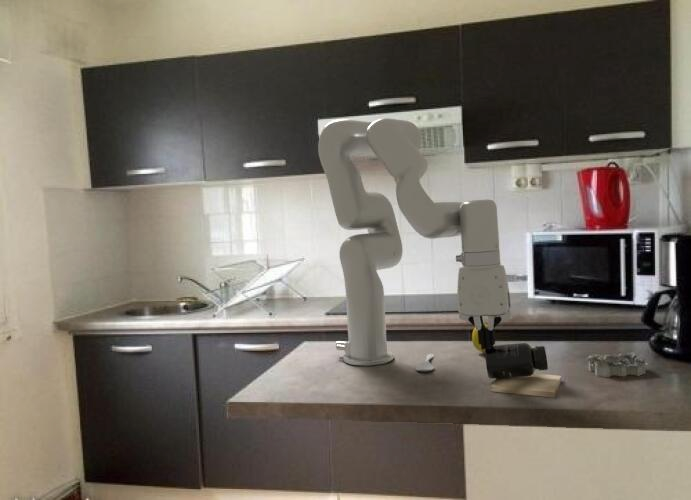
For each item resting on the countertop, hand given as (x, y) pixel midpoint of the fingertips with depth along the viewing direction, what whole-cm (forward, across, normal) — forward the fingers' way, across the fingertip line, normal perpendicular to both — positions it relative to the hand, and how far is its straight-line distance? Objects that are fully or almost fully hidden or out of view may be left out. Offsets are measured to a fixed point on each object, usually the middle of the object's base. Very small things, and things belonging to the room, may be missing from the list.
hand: (487, 347), depth 115 cm
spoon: (+8, -18, +12) cm, 23 cm away
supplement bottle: (+4, -1, +1) cm, 4 cm away
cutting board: (+8, +7, +1) cm, 11 cm away
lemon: (+7, -7, +24) cm, 26 cm away
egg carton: (+9, +23, +16) cm, 30 cm away
